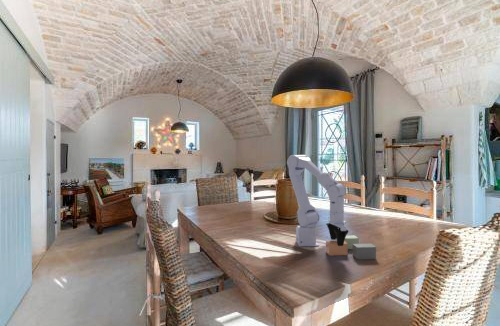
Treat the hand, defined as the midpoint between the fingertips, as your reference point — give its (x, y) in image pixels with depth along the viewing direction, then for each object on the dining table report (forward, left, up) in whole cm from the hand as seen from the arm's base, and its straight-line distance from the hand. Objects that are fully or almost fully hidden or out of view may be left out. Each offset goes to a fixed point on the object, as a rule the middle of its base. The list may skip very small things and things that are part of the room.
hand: (336, 242), depth 108 cm
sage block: (+8, +7, -5) cm, 11 cm away
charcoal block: (+10, -4, -5) cm, 12 cm away
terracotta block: (0, 0, -5) cm, 5 cm away
